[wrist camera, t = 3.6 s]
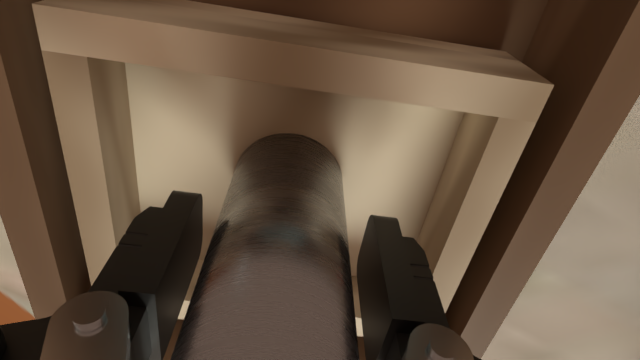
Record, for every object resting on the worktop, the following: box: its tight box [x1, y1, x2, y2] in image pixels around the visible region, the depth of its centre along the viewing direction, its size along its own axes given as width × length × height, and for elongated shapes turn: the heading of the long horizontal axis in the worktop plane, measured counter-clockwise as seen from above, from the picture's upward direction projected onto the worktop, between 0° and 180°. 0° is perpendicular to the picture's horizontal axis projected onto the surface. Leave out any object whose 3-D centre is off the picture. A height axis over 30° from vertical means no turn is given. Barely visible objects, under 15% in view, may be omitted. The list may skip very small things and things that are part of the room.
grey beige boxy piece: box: [32, 0, 554, 360], centre depth 11 cm, size 12×10×9 cm
